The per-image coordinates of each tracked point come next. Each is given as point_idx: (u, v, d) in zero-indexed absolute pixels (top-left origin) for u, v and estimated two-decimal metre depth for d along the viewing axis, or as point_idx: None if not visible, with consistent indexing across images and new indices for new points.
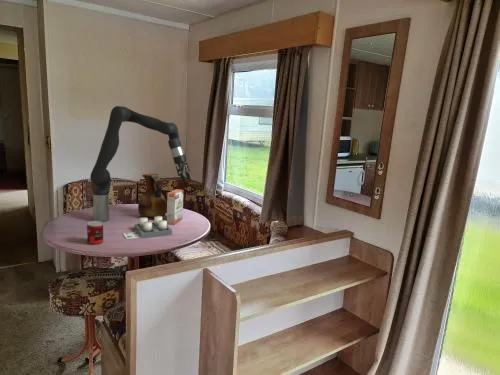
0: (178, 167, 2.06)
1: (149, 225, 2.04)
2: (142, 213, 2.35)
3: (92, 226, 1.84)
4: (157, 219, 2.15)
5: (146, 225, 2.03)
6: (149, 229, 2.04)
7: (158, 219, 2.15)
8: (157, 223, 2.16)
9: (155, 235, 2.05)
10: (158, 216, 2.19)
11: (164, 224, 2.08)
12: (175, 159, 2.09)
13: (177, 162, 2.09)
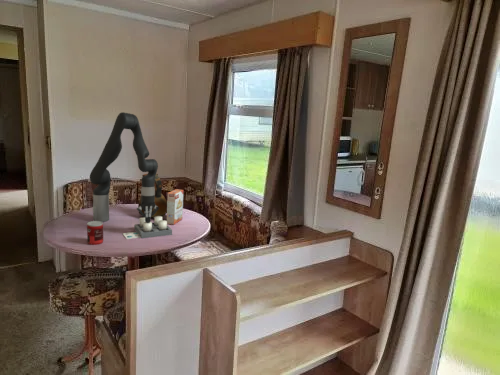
0: None
1: (149, 225, 2.04)
2: None
3: (92, 226, 1.84)
4: (157, 219, 2.15)
5: (146, 225, 2.03)
6: (149, 229, 2.04)
7: (158, 219, 2.15)
8: (157, 223, 2.16)
9: (155, 235, 2.05)
10: (158, 216, 2.19)
11: (164, 224, 2.08)
12: (141, 197, 2.01)
13: (141, 200, 2.01)
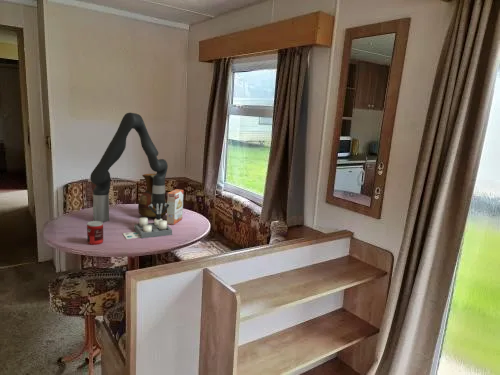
0: (149, 207, 2.13)
1: (149, 228, 2.04)
2: (142, 213, 2.35)
3: (92, 226, 1.84)
4: (157, 221, 2.15)
5: (146, 228, 2.03)
6: None
7: (158, 221, 2.15)
8: (157, 225, 2.16)
9: (155, 235, 2.05)
10: None
11: (164, 224, 2.08)
12: None
13: (152, 198, 2.13)
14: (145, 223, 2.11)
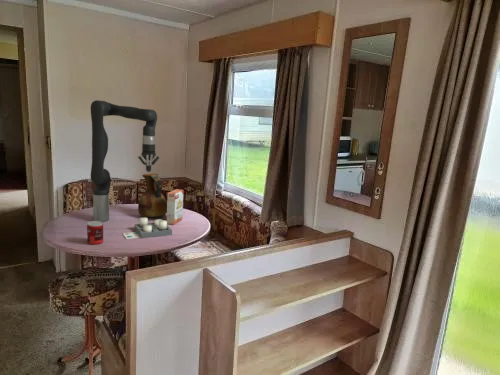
0: (139, 158, 2.10)
1: (149, 228, 2.04)
2: (142, 213, 2.35)
3: (92, 226, 1.84)
4: (157, 222, 2.15)
5: (146, 228, 2.03)
6: None
7: (158, 222, 2.16)
8: None
9: (155, 235, 2.05)
10: (158, 219, 2.19)
11: (164, 224, 2.08)
12: (142, 146, 2.11)
13: (142, 149, 2.11)
14: (145, 223, 2.11)
